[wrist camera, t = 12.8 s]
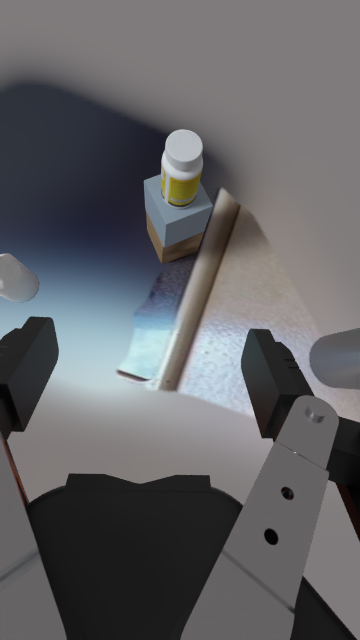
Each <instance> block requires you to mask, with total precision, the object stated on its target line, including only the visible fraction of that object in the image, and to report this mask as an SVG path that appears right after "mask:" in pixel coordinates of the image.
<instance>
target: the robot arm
mask: <svg viewBox="0 0 360 640" xmlns="http://www.w3.org/2000/svg"><path fill="white" fill-rule="evenodd" d="M58 354H59V349H58V343H57V338H56V332H55V327H54V322H53V319H52V318H50V317H29V319H28V320H27V321H26V323H25V324H24V325H23V327H22V328H21V329H18V328H15V329H14V330H12V331H11V332H9V333H8V334H6V335H5V336H3V338H2V339H1V340H0V640H357V639H356V638H355V637H354V635H353V634H352V633H351V632H350V631H349V629H348V628H347V627H346V626H345V625H344V624H343V622H342V621H341V620H340V619H339V618H338V616H337V615H336V614H335V613H334V612H333V611H332V609H331V608H330V607H329V606H328V605H327V603H326V602H325V601H324V600H323V599H322V597H321V596H320V595H319V594H318V593H317V592H316V590H315V589H314V588H313V587H312V586H311V584H310V583H309V582H308V581H307V580H306V579H305V577H304V576H303V572H304V568H305V564H306V560H307V557H308V553H309V549H310V545H311V542H312V538H313V534H314V530H315V527H316V523H317V519H318V515H319V512H320V508H321V504H322V500H323V497H324V493H325V489H326V485H327V481H328V480H330V481H333V482H335V483H336V485H337V488H338V490H339V493H340V495H341V497H342V500H343V502H344V505H345V507H346V510H347V512H348V514H349V517H350V519H351V522H352V524H353V526H354V529H355V532H356V534H357V536H358V539H359V541H360V423H359V422H356V421H352V420H349V419H346V418H342V417H339V416H338V415H337V413H336V411H335V410H334V409H333V408H332V407H331V406H330V405H329V404H328V403H327V402H325V401H324V400H322V399H320V398H317V397H315V396H314V394H313V392H312V390H311V388H310V386H309V384H308V383H307V381H306V379H305V377H304V375H303V373H302V372H301V370H300V369H299V366H298V364H297V362H296V361H295V359H294V357H293V355H292V353H291V351H290V350H289V349H288V348H287V347H286V346H285V345H284V344H283V343H281V342H275V340H274V338H273V336H272V334H271V332H270V330H268V329H250V330H249V332H248V335H247V339H246V343H245V346H244V350H243V354H242V358H241V369H242V373H243V377H244V380H245V383H246V387H247V390H248V393H249V397H250V400H251V404H252V407H253V410H254V414H255V417H256V420H257V424H258V427H259V430H260V433H261V437H262V438H272V439H273V442H274V444H273V446H272V448H271V450H270V453H269V455H268V457H267V459H266V461H265V463H264V465H263V467H262V469H261V471H260V473H259V475H258V477H257V479H256V481H255V483H254V486H253V488H252V490H251V492H250V494H249V496H248V498H247V500H246V502H245V504H244V506H243V505H242V504H241V503H240V502H238V501H237V500H236V499H235V498H233V497H232V496H231V495H229V494H227V493H225V492H224V491H221V490H219V489H217V488H214V487H211V485H210V476H209V475H174V476H170V477H166V478H162V479H158V480H155V481H151V482H147V483H143V484H137V483H133V482H130V481H126V480H123V479H120V478H116V477H113V476H109V475H105V474H69V475H68V479H67V482H66V485H65V486H61V487H58V488H56V489H53V490H50V491H49V492H46V493H45V494H42V495H41V496H39V497H38V498H36V499H35V500H33V501H32V502H30V503H29V500H28V498H27V495H26V493H25V490H24V487H23V484H22V482H21V479H20V476H19V473H18V470H17V467H16V465H15V462H14V459H13V456H12V453H11V450H10V448H9V445H8V442H7V439H8V437H9V435H10V433H11V431H14V432H24V430H25V429H26V427H27V424H28V422H29V420H30V418H31V416H32V414H33V412H34V410H35V407H36V405H37V403H38V401H39V399H40V397H41V394H42V393H43V391H44V389H45V386H46V384H47V382H48V380H49V378H50V376H51V374H52V371H53V369H54V367H55V365H56V363H57V360H58ZM310 366H311V368H312V371H313V373H314V374H315V376H316V377H317V378H318V379H319V381H321V382H322V383H323V384H325V385H327V386H330V387H334V388H347V389H360V328H357V329H353V330H349V331H344V332H340V333H335V334H331V335H327V336H324V337H322V338H320V339H319V340H317V341H316V342H315V344H314V345H313V347H312V349H311V352H310Z"/></svg>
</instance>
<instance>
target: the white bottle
mask: <svg viewBox="0 0 360 640" xmlns="http://www.w3.org/2000/svg"><path fill="white" fill-rule="evenodd" d="M38 289H39V281H38V278H37V277H36V276H35V275H34V274H33V273H32V272H31V271H29V270H28V269H27V268H26V267H25V266H24V265H22V264H21V263H20V262H19V261H18V260H17V259H15V258H14V257H13V256H12V255H10V254H1V255H0V296H1V297H3V298H6V299H8V300H10V301H12V302H19V303H20V302H26V301H29V300H30V299H32V298H33V297H34V296H35V295H36V293H37V292H38Z"/></svg>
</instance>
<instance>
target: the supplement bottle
mask: <svg viewBox="0 0 360 640" xmlns="http://www.w3.org/2000/svg"><path fill="white" fill-rule="evenodd" d="M202 149H203V145H202V141H201V139H200V138H199V136H198V135H196V134H195V133H194V132H192V131H189V130H177V131H174V132H173V133H171V134H170V135H169V137H168V138H167V141H166V147H165V151H164V153H163V156H162V170H161V195H162V198H163V200H164V202H165V203H166V204H167V205H169V206H170V207H172V208H175V209H184V208H187V207H189V206H190V205H191V204H192V203H193V202H194V200H195V198H196V195H197V190H198V185H199V181H200V176H201V172H202V167H203V160H202Z"/></svg>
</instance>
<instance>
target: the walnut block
mask: <svg viewBox="0 0 360 640" xmlns="http://www.w3.org/2000/svg"><path fill="white" fill-rule="evenodd" d="M146 213H147V212H146ZM147 230H148V233H149V235H150V238H151V240H152V242H153V245H154V247H155V249H156V252H157V254H158V257H159V259H160V261H161V264H164V263H167V262H170V261H172V260H175V259H178V258H181V257H183V256H186V255H189V254H192V253H195V252H197V251H198V248H199V245H200V242H201V240H202V237H203V234H204V232H202V233H199V234H197V235H194V236H192V237H190V238H187V239H185V240H182V241H180V242H177V243H175V244H172V245H170V246H168V247H165V248H164V246H163V244H162V242H161V240H160V238H159V236H158V234H157V232H156V230H155V228H154V226H153V224H152V222H151V220H150V218H149V216H148V214H147Z"/></svg>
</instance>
